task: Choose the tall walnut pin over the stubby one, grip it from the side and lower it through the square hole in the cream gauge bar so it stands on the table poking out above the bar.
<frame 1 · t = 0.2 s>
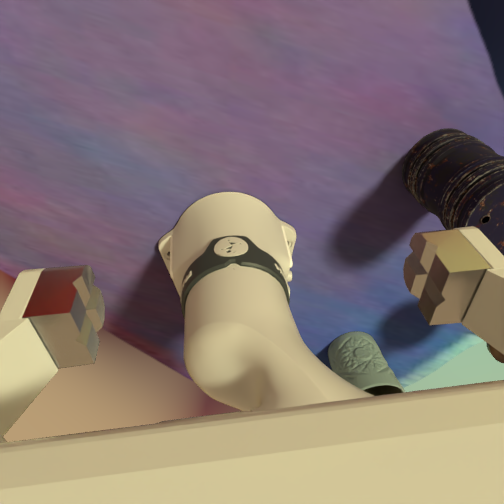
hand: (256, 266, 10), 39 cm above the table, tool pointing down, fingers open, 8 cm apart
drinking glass: (349, 346, 71), on the table
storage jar: (437, 164, 53), on the table
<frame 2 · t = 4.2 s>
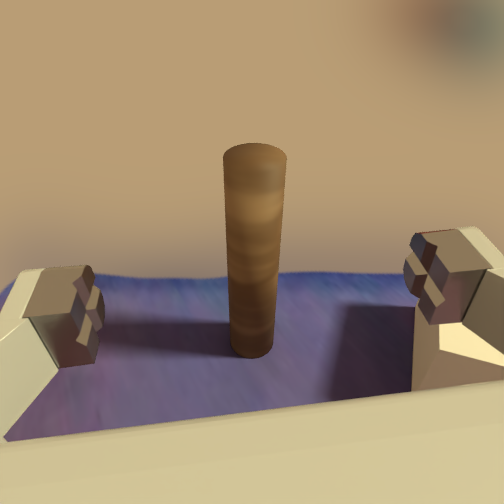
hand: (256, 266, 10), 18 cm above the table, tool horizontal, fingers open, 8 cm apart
long walnut pin: (251, 340, 30), on the table
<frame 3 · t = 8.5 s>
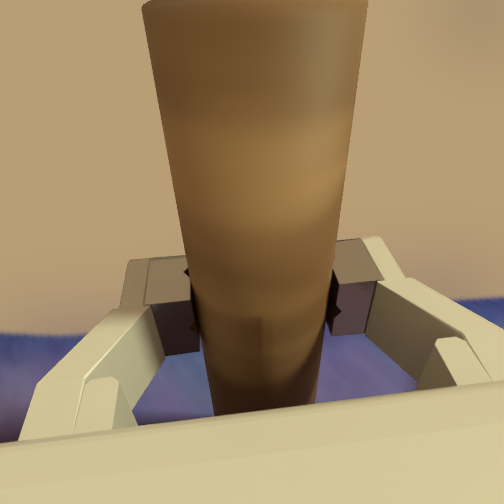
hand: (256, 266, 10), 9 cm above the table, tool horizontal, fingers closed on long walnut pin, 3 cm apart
long walnut pin: (264, 456, 15), on the table, touching gripper
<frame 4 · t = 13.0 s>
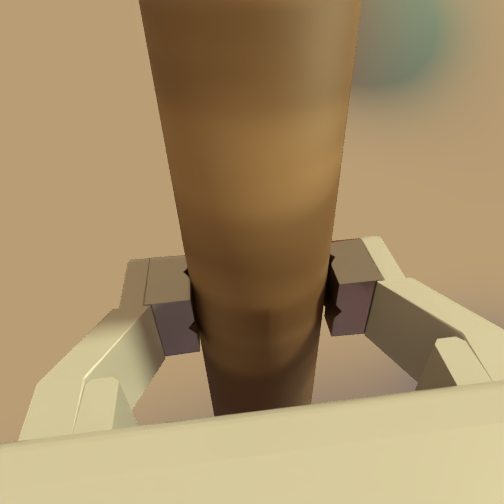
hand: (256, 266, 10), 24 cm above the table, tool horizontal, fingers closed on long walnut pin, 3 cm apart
long walnut pin: (262, 448, 16), point 15 cm above the table, touching gripper
when the fingers open (11 cm above the table, at t = 17.6 s): long walnut pin drops 3 cm, resting in gauge bar.
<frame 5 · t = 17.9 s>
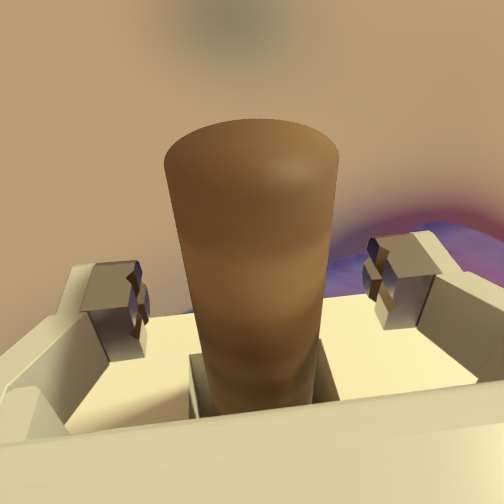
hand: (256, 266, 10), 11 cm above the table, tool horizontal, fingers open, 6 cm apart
long walnut pin: (265, 474, 17), resting in gauge bar
gauge bar: (266, 481, 17), on the table
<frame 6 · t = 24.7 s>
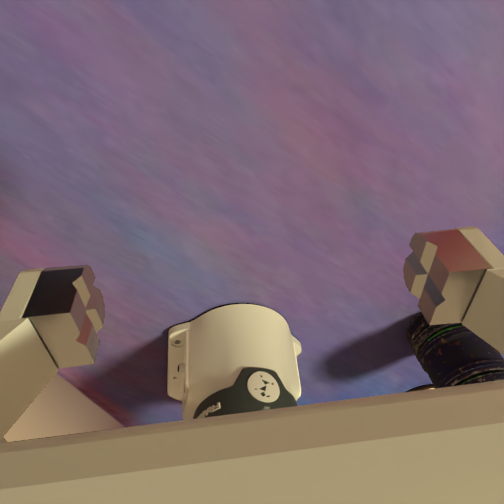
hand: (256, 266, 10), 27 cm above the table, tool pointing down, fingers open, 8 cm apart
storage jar: (437, 324, 59), on the table
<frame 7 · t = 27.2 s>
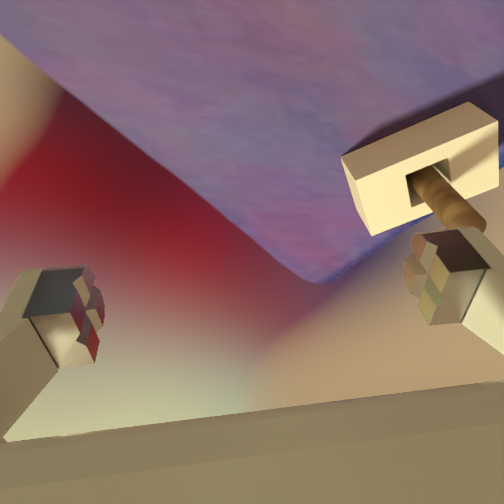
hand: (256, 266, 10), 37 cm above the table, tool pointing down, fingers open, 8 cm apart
long walnut pin: (408, 161, 52), resting in gauge bar
gauge bar: (408, 160, 52), on the table
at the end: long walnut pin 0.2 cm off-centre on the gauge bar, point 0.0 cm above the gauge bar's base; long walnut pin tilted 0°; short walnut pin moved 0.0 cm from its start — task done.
